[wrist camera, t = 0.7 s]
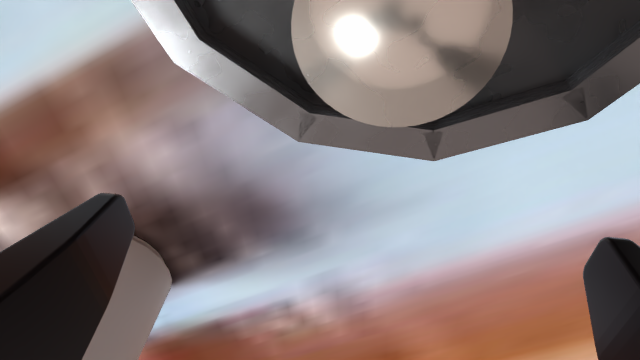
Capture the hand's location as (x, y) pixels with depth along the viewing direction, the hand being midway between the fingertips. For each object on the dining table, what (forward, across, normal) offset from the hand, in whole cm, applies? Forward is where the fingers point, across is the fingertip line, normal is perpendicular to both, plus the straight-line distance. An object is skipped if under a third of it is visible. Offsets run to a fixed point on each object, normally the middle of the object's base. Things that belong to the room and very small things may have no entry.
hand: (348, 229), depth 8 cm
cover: (+11, -1, -1) cm, 11 cm away
